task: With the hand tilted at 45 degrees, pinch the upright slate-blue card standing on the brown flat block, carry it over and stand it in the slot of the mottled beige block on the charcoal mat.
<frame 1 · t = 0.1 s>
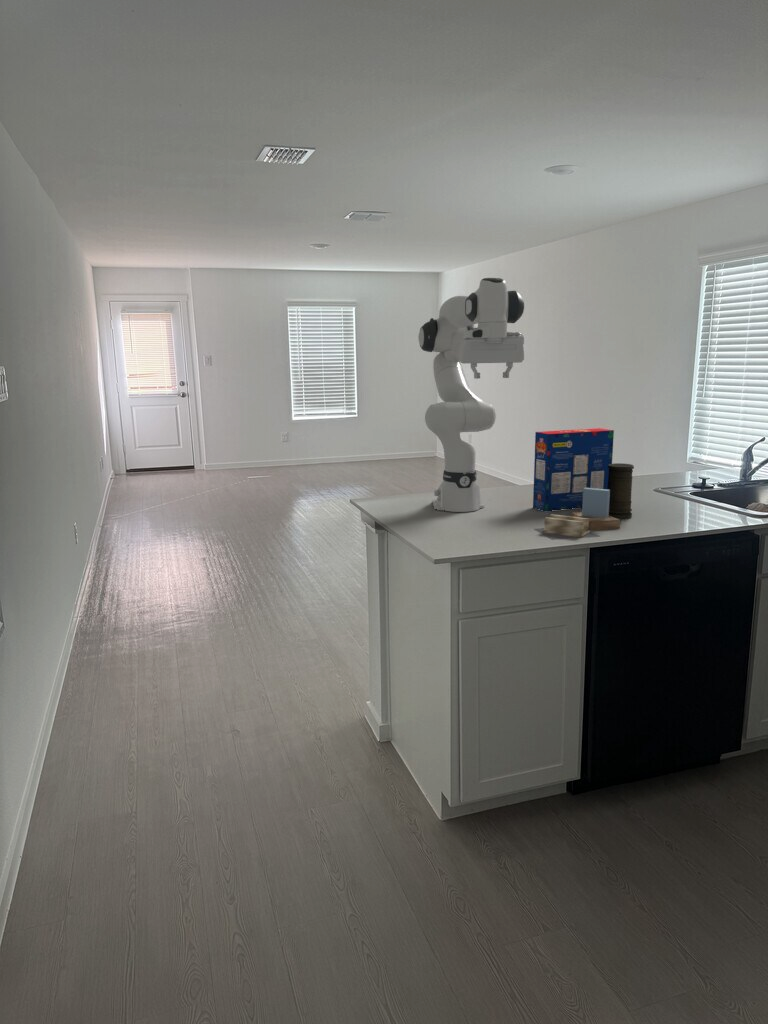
hand: (491, 378, 220), 48 cm above the table, tool pointing down, fingers open, 8 cm apart
container: (617, 516, 244), on the table
mottled beige block: (566, 532, 221), resting on mat
mat: (566, 533, 221), on the table
brown flat block: (594, 525, 232), on the table
card: (595, 516, 231), point 3 cm above the table, touching brown flat block
pasta box: (571, 507, 261), on the table
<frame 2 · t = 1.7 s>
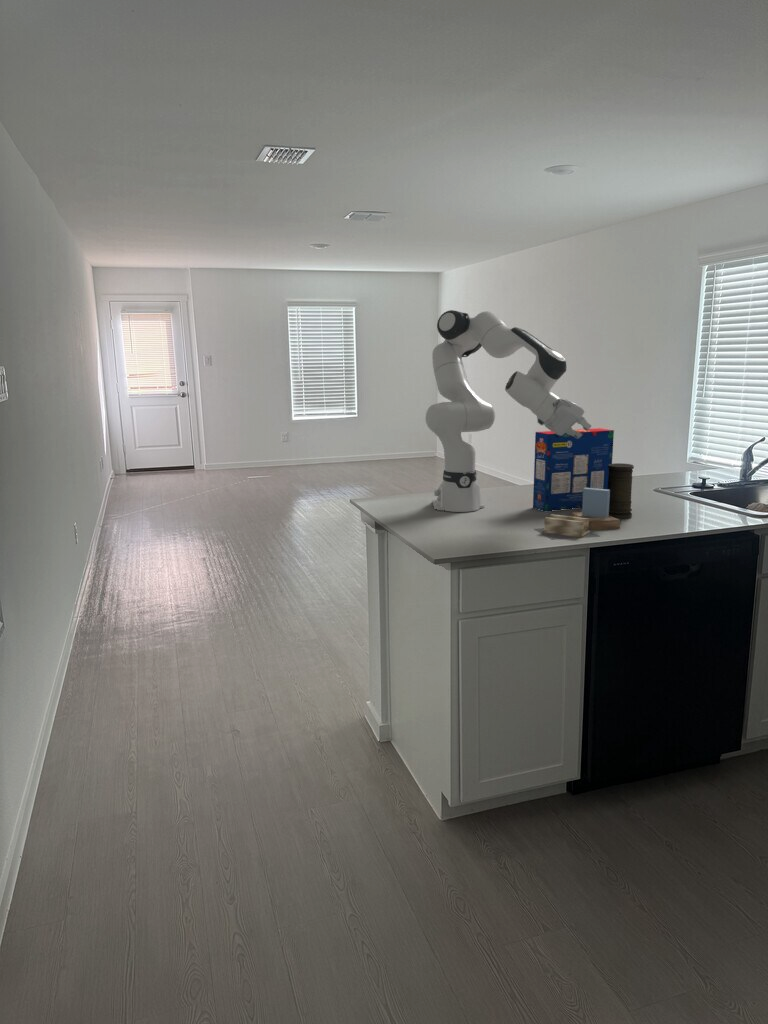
hand: (584, 432, 228), 30 cm above the table, tool tilted 55°, fingers open, 8 cm apart
nothing on the table moved.
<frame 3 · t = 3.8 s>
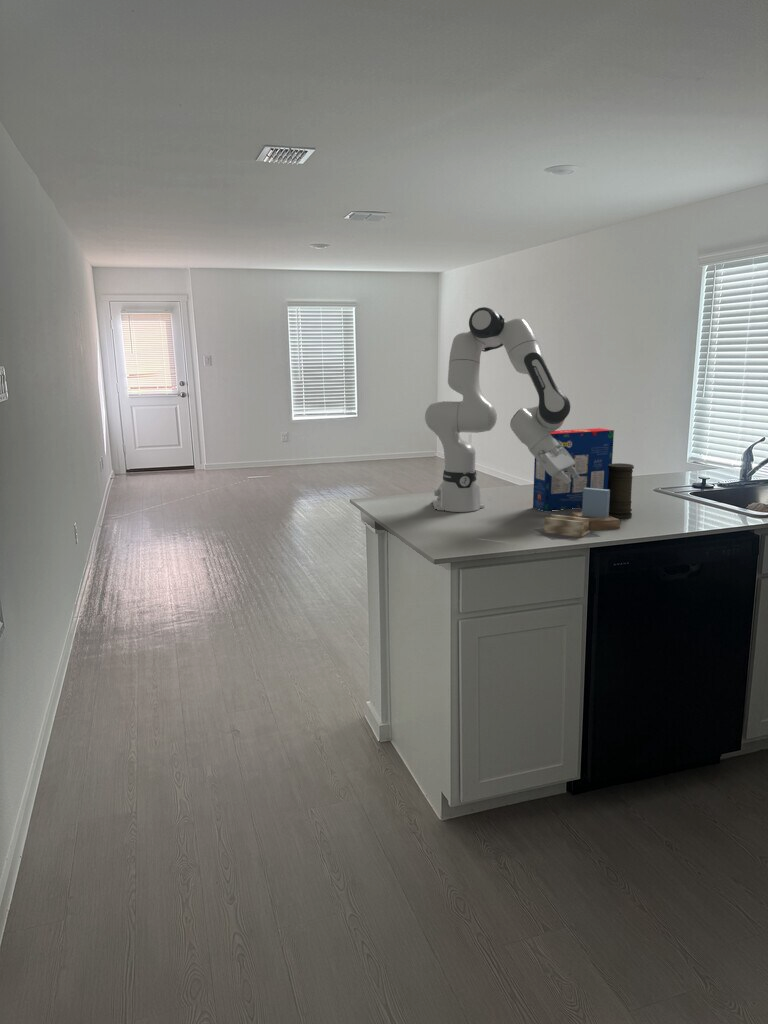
hand: (573, 480, 235), 14 cm above the table, tool tilted 45°, fingers open, 8 cm apart
nothing on the table moved.
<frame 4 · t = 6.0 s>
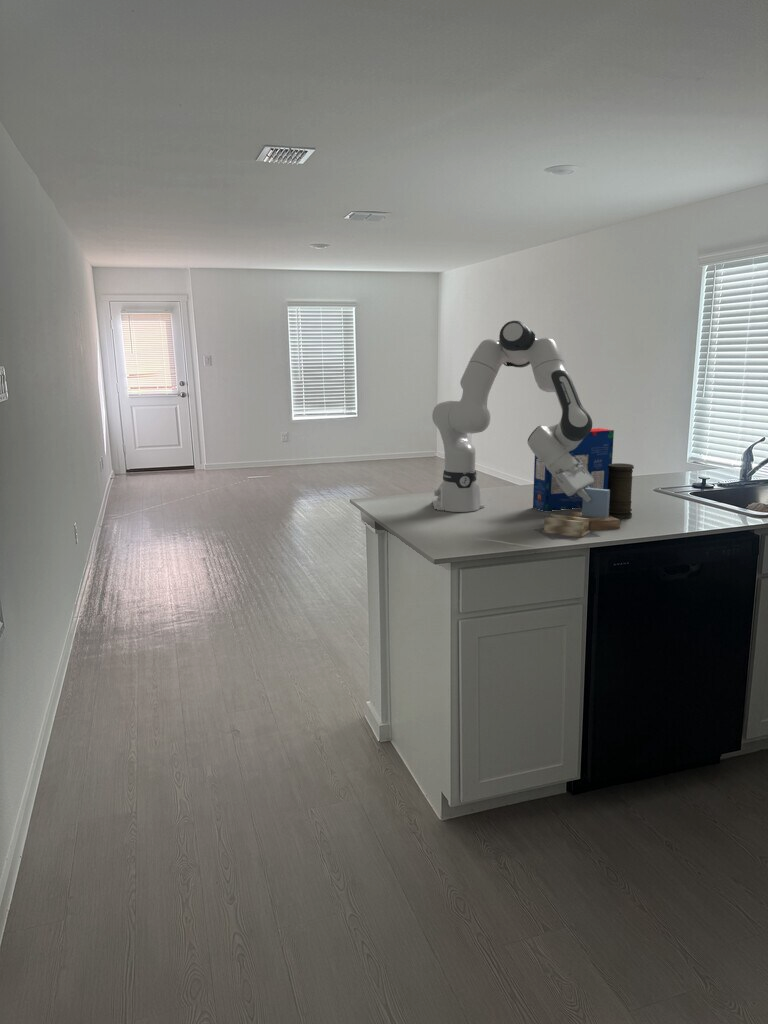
hand: (591, 499, 231), 8 cm above the table, tool tilted 45°, fingers closed on card, 2 cm apart
card: (595, 516, 231), point 3 cm above the table, touching brown flat block, gripper
everything else where it was.
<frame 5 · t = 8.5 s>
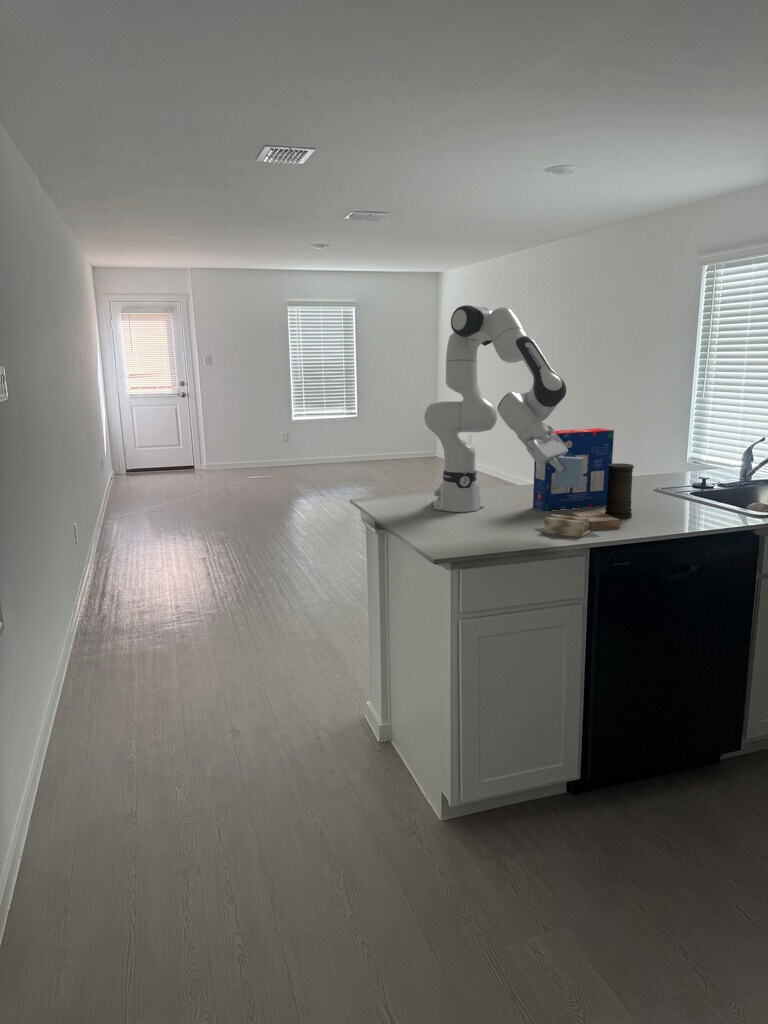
hand: (564, 469, 218), 20 cm above the table, tool tilted 45°, fingers closed on card, 2 cm apart
card: (568, 486, 218), point 15 cm above the table, touching gripper
everything else where it was.
when the fingers open (8 cm above the table, at t = 11.0 s): card drops 2 cm, resting on mottled beige block.
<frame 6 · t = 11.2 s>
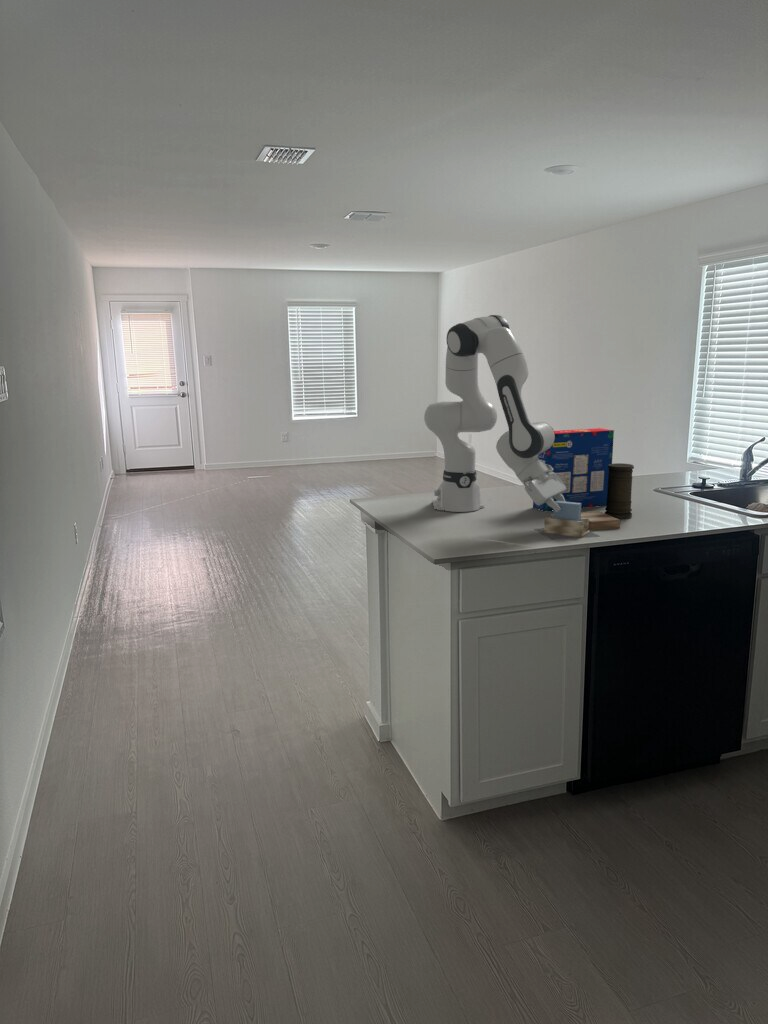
hand: (562, 508, 221), 8 cm above the table, tool tilted 45°, fingers open, 5 cm apart
card: (566, 530, 221), point 1 cm above the table, touching mottled beige block
everything else where it was.
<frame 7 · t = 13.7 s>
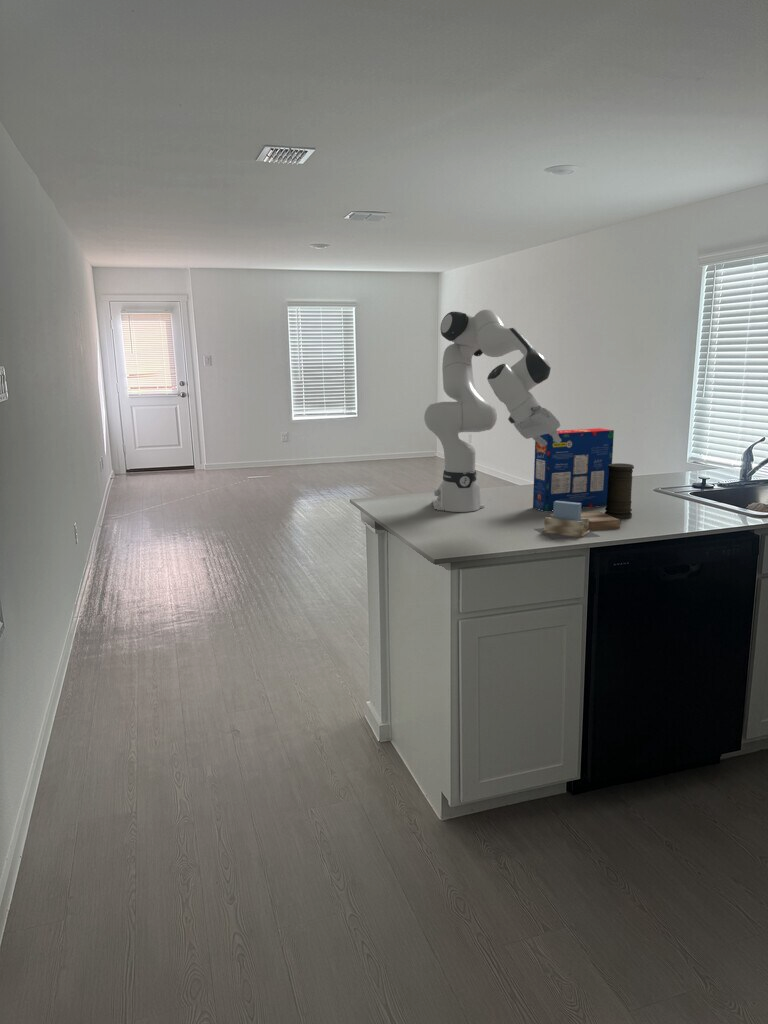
hand: (551, 444, 225), 27 cm above the table, tool tilted 40°, fingers open, 8 cm apart
nothing on the table moved.
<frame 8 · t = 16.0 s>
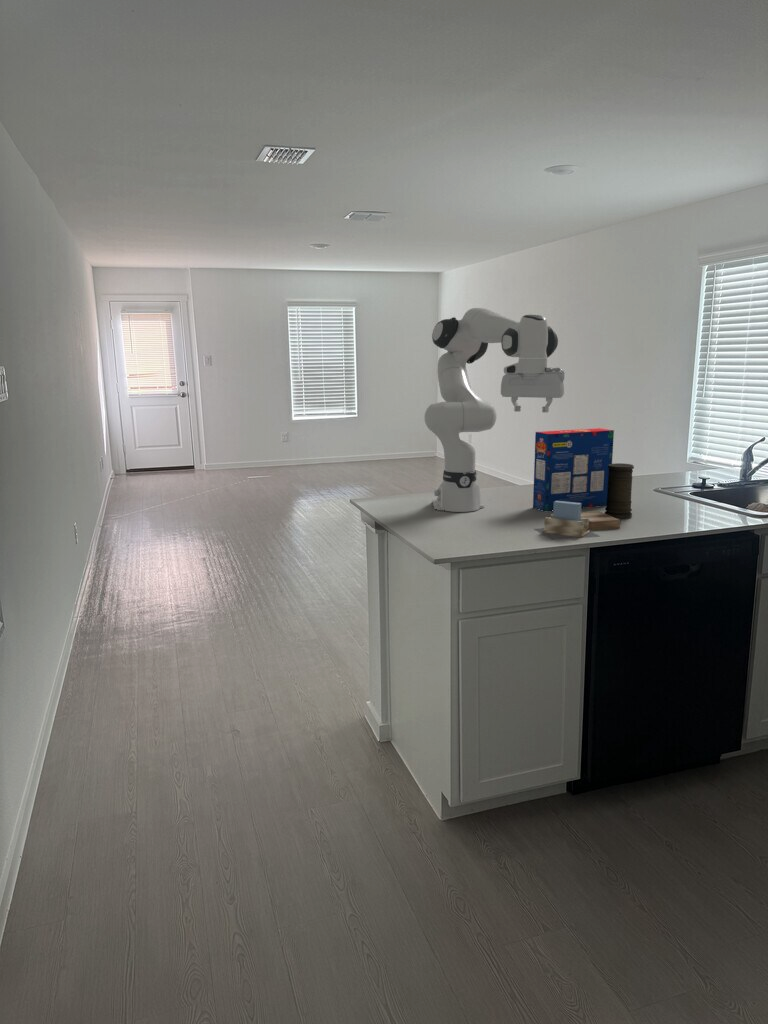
hand: (531, 411, 226), 37 cm above the table, tool pointing down, fingers open, 8 cm apart
nothing on the table moved.
at the end: card 0.0 cm off-centre on the mottled beige block, point 0.6 cm above the mottled beige block's base; card tilted 0°; the gripper is holding nothing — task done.
